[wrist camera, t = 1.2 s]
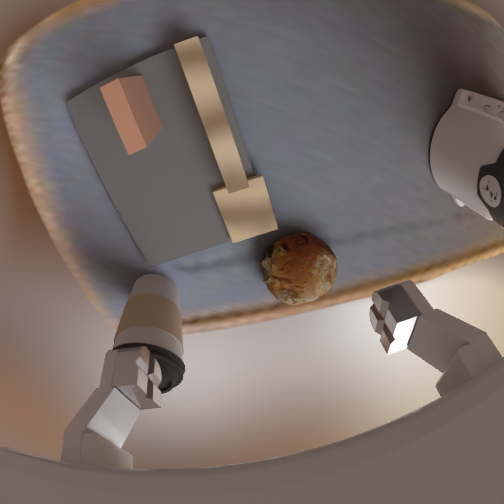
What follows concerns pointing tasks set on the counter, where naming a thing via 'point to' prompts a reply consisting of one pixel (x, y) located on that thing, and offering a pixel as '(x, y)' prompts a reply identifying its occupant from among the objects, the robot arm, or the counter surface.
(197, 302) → the counter surface
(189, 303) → the counter surface
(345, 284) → the counter surface
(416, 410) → the robot arm
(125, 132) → the tile
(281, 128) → the counter surface
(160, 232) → the mat
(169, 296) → the coffee cup
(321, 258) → the bread roll
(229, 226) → the spatula
